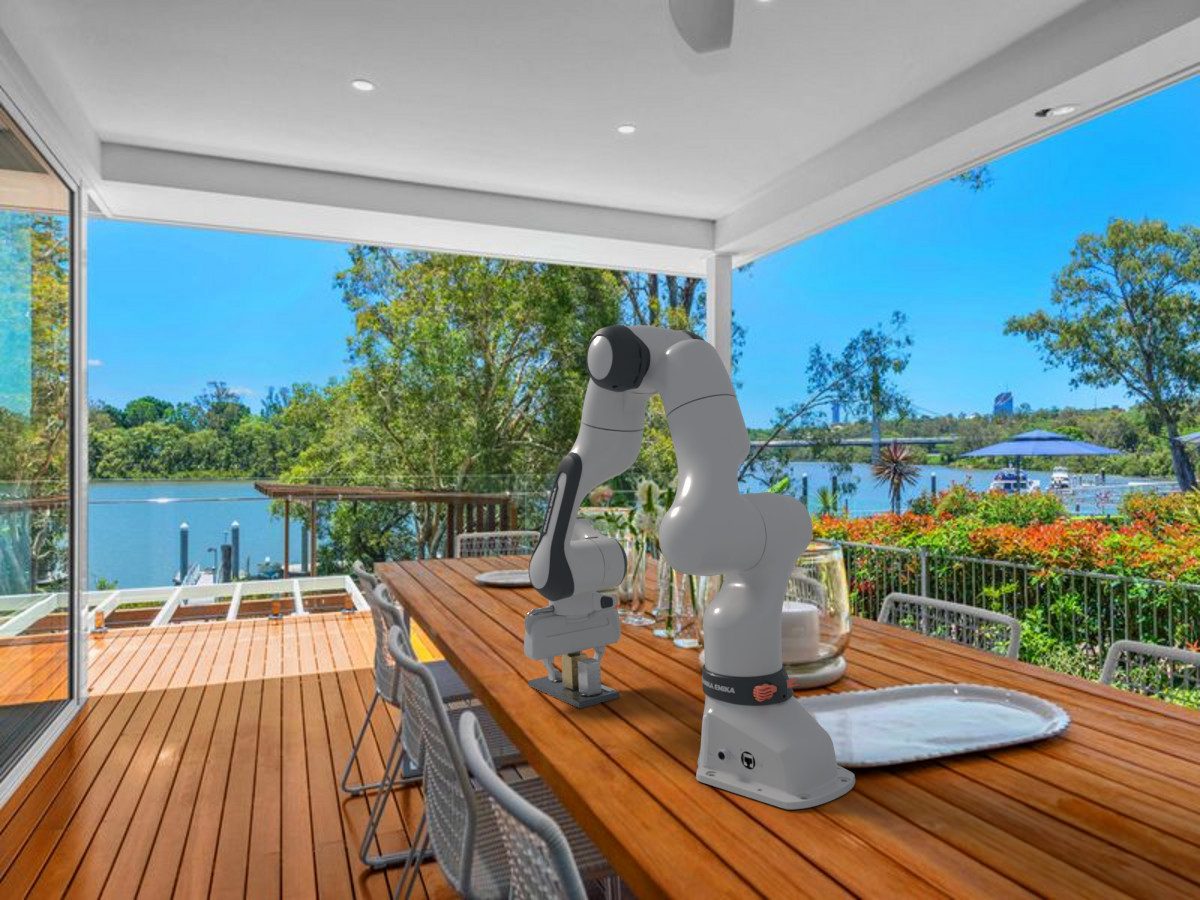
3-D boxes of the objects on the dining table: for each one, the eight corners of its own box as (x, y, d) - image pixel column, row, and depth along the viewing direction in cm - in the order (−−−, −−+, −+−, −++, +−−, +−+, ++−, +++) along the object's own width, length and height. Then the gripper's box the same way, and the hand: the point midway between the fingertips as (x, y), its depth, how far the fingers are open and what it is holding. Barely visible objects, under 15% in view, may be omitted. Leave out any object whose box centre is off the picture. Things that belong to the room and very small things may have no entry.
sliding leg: (588, 685, 150) (586, 647, 150) (572, 689, 148) (571, 651, 148) (577, 681, 153) (576, 644, 153) (562, 685, 151) (561, 647, 151)
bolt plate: (619, 697, 147) (617, 659, 147) (579, 708, 142) (577, 668, 142) (566, 677, 162) (565, 642, 162) (528, 686, 156) (527, 650, 156)
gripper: (533, 612, 142) (536, 689, 142) (623, 596, 154) (626, 667, 154) (516, 608, 147) (519, 681, 147) (604, 592, 159) (607, 661, 159)
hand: (574, 674), depth 151 cm, fingers open, 8 cm apart
